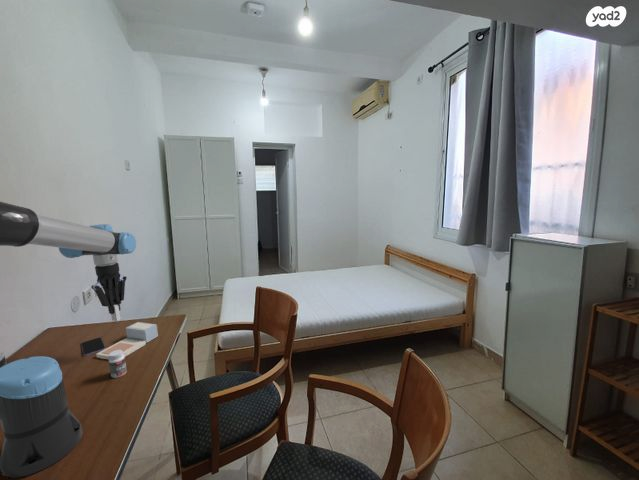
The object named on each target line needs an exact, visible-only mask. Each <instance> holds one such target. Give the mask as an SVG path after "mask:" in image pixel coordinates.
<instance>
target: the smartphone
mask: <svg viewBox="0 0 639 480" xmlns="http://www.w3.org/2000/svg"><path fill="white" fill-rule="evenodd" d="M80 345H81V351H82V355H83V357H87V356H90V355H94V354H97V353H99V352H101V351H103V350H105V349H106V346H105V343H104V341H103V339H102V337H96V338H93V339H90V340H86V341H83V342H81V343H80Z"/></svg>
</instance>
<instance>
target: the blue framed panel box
mask: <svg viewBox="0 0 639 480" xmlns="http://www.w3.org/2000/svg"><path fill="white" fill-rule="evenodd" d="M125 332H126V338H129V339H136V340H144V341H146V344H147V343H149V342H151V341H152V340H154V339H156V338H157V337H159V332H158V324H156V323H149V322H148V323H147V322H141V321H140V322H139V321H137V322H135V323H133V324H130V325H129V326H127V327H125Z"/></svg>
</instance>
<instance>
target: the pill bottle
mask: <svg viewBox="0 0 639 480" xmlns="http://www.w3.org/2000/svg"><path fill="white" fill-rule="evenodd" d="M109 358H110V359H109V360H108V366H109V373H110V377H111V378H113V379H116V378H120V377H122V376H125V375H126V373H127V370H128V369H127V364H126V356H125V357H124V355H123V352H122V350H115V351H113V352H111V353H110V354H109Z"/></svg>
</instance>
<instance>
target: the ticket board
mask: <svg viewBox="0 0 639 480" xmlns="http://www.w3.org/2000/svg"><path fill="white" fill-rule="evenodd" d="M145 345H147V343H146V341H144V340H136V339H129V338H127V337H126V338H123V339H121V340H119V341H118V342H116V343H114V344H112V345H110V346H109V347H105V350H103V351H100V352H97V353H95V356H96V358H97V359H98V358H99V359H102V360H104V359H105V360H108V361H109V359H110V358H109V354H110V353H111V352H113V351H115V350H122V352H123V355H124V357H125V358H126V357H127V356H129V355H131V354H132V353H133V352H136V351H137V350H138V349H140V348H142V347H144V346H145Z"/></svg>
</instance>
